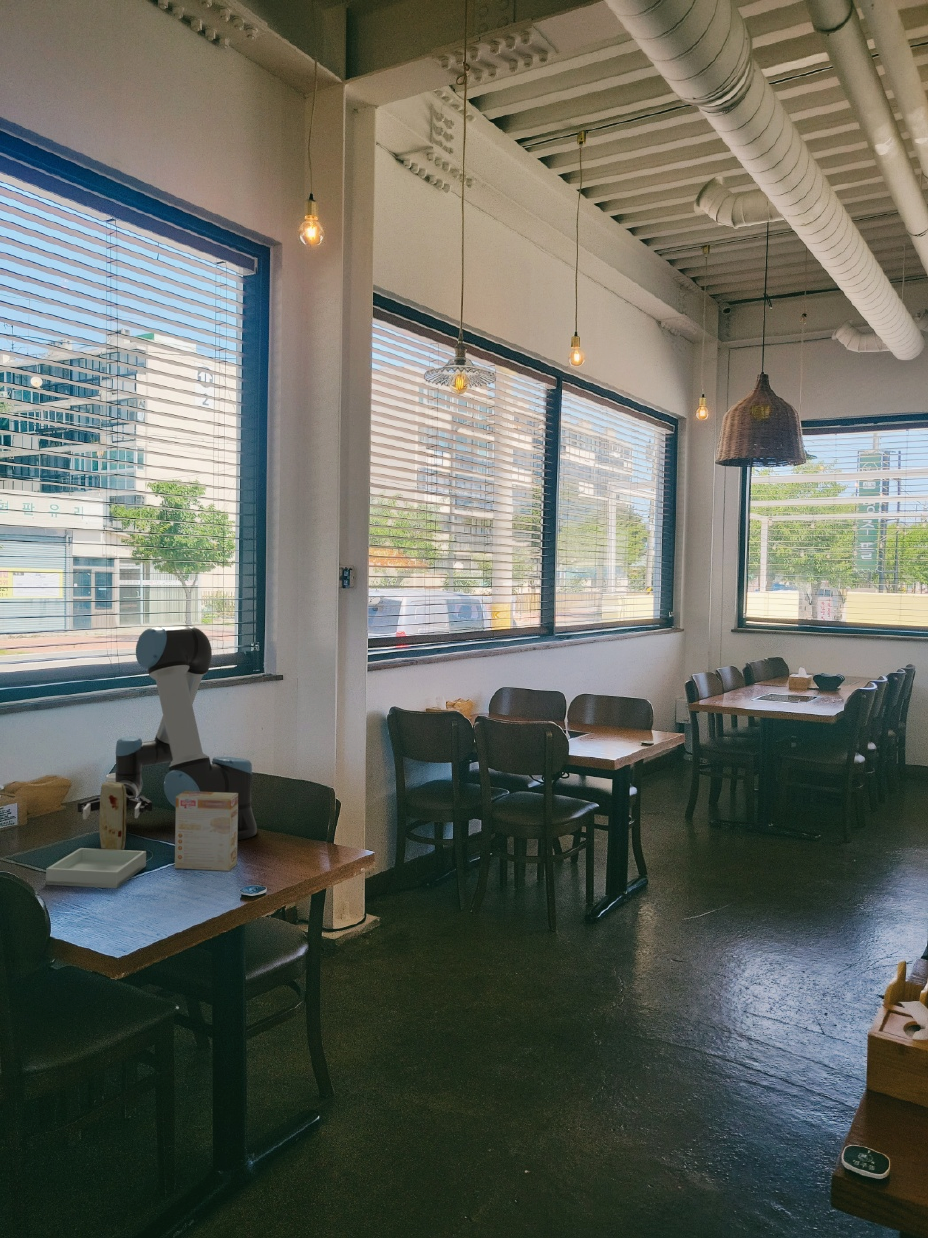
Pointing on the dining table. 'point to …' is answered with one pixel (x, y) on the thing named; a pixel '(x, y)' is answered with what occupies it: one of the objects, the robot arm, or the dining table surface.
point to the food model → (112, 816)
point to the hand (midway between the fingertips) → (110, 813)
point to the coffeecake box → (206, 830)
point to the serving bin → (96, 868)
